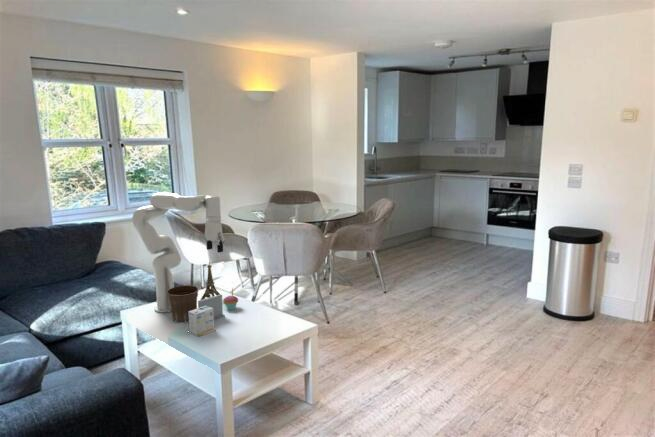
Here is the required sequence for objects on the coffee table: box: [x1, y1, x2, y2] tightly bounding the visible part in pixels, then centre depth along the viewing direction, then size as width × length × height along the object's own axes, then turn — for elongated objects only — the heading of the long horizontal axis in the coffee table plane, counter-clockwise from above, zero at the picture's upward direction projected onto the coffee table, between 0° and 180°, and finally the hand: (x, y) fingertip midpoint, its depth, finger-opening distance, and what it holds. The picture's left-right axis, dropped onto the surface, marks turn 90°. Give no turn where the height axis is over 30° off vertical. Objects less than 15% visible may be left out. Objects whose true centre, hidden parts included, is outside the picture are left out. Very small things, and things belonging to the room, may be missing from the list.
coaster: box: [187, 327, 216, 338], centre depth 229 cm, size 10×10×1 cm
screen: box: [197, 293, 226, 321], centre depth 243 cm, size 5×14×12 cm, turn 138°
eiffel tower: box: [198, 262, 221, 301], centre depth 275 cm, size 11×11×25 cm
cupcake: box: [222, 288, 239, 311], centre depth 259 cm, size 9×8×12 cm
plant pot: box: [167, 284, 200, 324], centre depth 244 cm, size 16×16×16 cm
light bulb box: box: [188, 305, 215, 334], centre depth 228 cm, size 11×7×11 cm, turn 141°
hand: (214, 250), depth 244 cm, fingers open, 9 cm apart
